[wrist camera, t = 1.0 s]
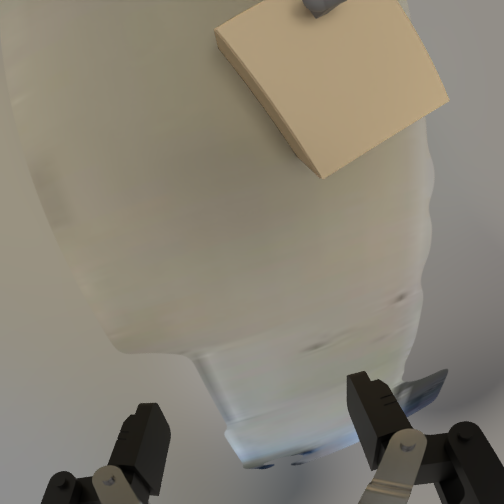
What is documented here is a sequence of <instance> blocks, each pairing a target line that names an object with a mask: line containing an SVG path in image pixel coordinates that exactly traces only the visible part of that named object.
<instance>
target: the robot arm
mask: <svg viewBox="0 0 504 504" xmlns="http://www.w3.org/2000/svg"><path fill="white" fill-rule="evenodd" d="M347 407H348V411H349V414H350V417H351V419H352V422H353V424H354V427H355V429H356V432H357V435H358V437H359V440H360V442H361V445H362V447H363V450H364V453H365V455H366V458H367V460H368V463H369V466H370V469H371V471H373V470H376V469H377V471H376V474H375V476H374V478H373V480H372V481H371V483H369V484H368V486H367V488H366V489H365V491H364V493H363V495H362V497H361V499H360V501H359V503H358V504H407V502H408V499H409V497H410V494H411V490H412V487H413V485H419V484H427V483H434V485H435V488H436V490H437V493H438V495H439V498H440V500H441V503H442V504H504V467H503V465H502V463H501V462H500V460H499V458H498V457H497V455H496V453H495V452H494V450H493V448H492V447H491V445H490V443H489V442H488V440H487V439H486V437H485V436H484V434H483V432H482V431H481V429H480V428H479V426H477V425H476V424H475V423H472V422H467V421H464V422H459V423H457V424H455V425H454V426H453V427H451V429H450V430H449V432H448V433H443V434H436V435H425V434H423V433H422V432H420V431H418V430H416V429H413V427H412V426H411V424H410V422H409V421H408V419H407V417H406V415H405V414H404V412H403V410H402V409H401V407H400V405H399V403H398V402H397V400H396V398H395V397H394V395H393V393H392V392H391V390H390V388H389V386H388V385H387V384H385V383H384V382H382V381H381V380H379V379H377V380H374V381H370V379H369V377H368V375H367V373H366V372H365V371H362V372H358V373H354V374H350V375H347ZM170 438H171V432H170V428H169V425H168V423H167V421H166V419H165V417H164V415H163V413H162V411H161V409H160V407H159V405H158V404H157V403H141V404H139V405H138V408H137V410H136V413H135V415H130V416H129V417H128V418H127V419H126V420H125V421H124V422H123V425H122V428H121V430H120V433H119V435H118V440H117V441H116V443H115V446H114V449H113V452H112V454H111V457H110V460H109V463H108V465H107V466H104V467H101V468H99V469H98V470H97V471H96V472H95V473H94V475H93V476H92V477H84V478H77V479H76V478H75V477H74V476H73V475H72V474H71V473H70V472H67V471H61V472H58V473H56V474H55V475H53V476H52V477H51V479H50V481H49V484H48V486H47V488H46V491H45V494H44V496H43V499H42V502H41V504H150V503H149V502H148V499H149V495H154V496H159V492H160V487H161V482H162V477H163V472H164V467H165V462H166V457H167V453H168V448H169V443H170Z"/></svg>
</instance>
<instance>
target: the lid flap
mask: <svg viewBox="0 0 504 504" xmlns="http://www.w3.org/2000/svg"><path fill="white" fill-rule="evenodd" d="M216 30H217V32H218V33H219V34H220V35H221V37H222V38H223V39H224V40H225V41H226V43H227V44H228V45H229V46H230V48H231V49H232V50H233V51H234V53H235V54H236V55H237V56H238V58H239V59H240V60H241V62H242V63H243V64H244V66H245V67H246V68H247V69H248V71H249V72H250V73H251V75H252V76H253V77H254V79H255V80H256V81H257V83H258V84H259V86H260V87H261V88H262V90H263V91H264V92H265V94H266V95H267V97H268V98H269V99H270V101H271V102H272V104H273V105H274V106H275V108H276V109H277V111H278V112H279V114H280V115H281V117H282V118H283V119H284V121H285V122H286V124H287V125H288V127H289V128H290V130H291V131H292V133H293V134H294V136H295V137H296V139H297V140H298V142H299V143H300V145H301V147H302V148H303V150H304V151H305V153H306V154H307V156H308V157H309V159H310V161H311V162H312V164H313V165H314V167H315V169H316V170H317V172H318V173H319V175H320V177H321V178H322V179H325V178H326V177H328V176H329V175H331V174H333V173H334V172H336V171H337V170H339V169H340V168H342V167H344V166H345V165H347V164H348V163H350V162H351V161H353V160H355V159H356V158H358V157H359V156H361V155H362V154H364V153H366V152H367V151H369V150H370V149H372V148H374V147H375V146H377V145H378V144H380V143H382V142H383V141H385V140H386V139H388V138H390V137H391V136H393V135H395V134H396V133H398V132H399V131H401V130H403V129H404V128H406V127H407V126H409V125H411V124H412V123H414V122H416V121H417V120H419V119H421V118H422V117H424V116H425V115H427V114H429V113H430V112H432V111H434V110H435V109H437V108H439V107H440V106H442V105H444V104H445V103H447V102H448V101H449V98H448V95H447V93H446V91H445V88H444V86H443V84H442V81H441V79H440V77H439V75H438V73H437V71H436V69H435V67H434V64H433V62H432V60H431V58H430V56H429V54H428V53H427V51H426V49H425V47H424V45H423V43H422V41H421V39H420V38H419V36H418V34H417V32H416V31H415V29H414V27H413V25H412V24H411V22H410V20H409V19H408V17H407V15H406V14H405V12H404V11H403V9H402V7H401V6H400V4H399V3H398V1H397V0H265V1H263V2H261V3H260V4H258V5H256V6H254V7H252V8H250V9H248V10H247V11H245V12H243V13H241V14H240V15H238V16H236V17H234V18H233V19H231V20H229V21H228V22H226V23H224V24H223V25H221V26H219V27H218V28H216Z"/></svg>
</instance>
